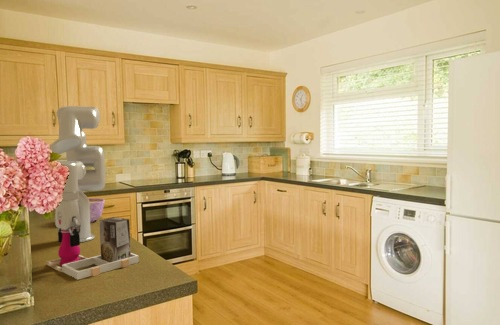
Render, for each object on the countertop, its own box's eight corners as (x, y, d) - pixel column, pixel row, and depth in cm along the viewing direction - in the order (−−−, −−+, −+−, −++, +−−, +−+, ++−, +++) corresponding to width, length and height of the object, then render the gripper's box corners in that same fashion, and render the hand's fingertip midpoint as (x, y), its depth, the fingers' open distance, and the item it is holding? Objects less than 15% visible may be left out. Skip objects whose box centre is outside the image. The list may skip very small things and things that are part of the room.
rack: (62, 271, 128) (62, 264, 128) (122, 256, 145) (122, 249, 145) (79, 280, 120) (78, 272, 120) (140, 262, 137) (140, 256, 137)
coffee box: (131, 262, 137) (130, 218, 136) (117, 267, 132) (115, 222, 131) (114, 258, 142) (113, 216, 141) (100, 263, 136) (98, 219, 136)
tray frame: (46, 264, 136) (46, 261, 136) (78, 257, 144) (78, 254, 144) (60, 271, 128) (60, 268, 128) (92, 263, 137) (92, 260, 137)
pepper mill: (55, 264, 136) (53, 209, 135) (76, 259, 141) (74, 207, 140) (62, 269, 131) (60, 212, 130) (83, 264, 136) (81, 209, 135)
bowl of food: (66, 220, 214) (66, 199, 214) (104, 216, 223) (103, 197, 222) (66, 227, 196) (65, 205, 195) (106, 223, 205) (106, 202, 204)
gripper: (46, 195, 138) (48, 241, 139) (66, 200, 126) (68, 250, 127) (67, 193, 143) (69, 237, 144) (88, 197, 132) (90, 245, 133)
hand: (69, 243), depth 136 cm, fingers open, 9 cm apart
